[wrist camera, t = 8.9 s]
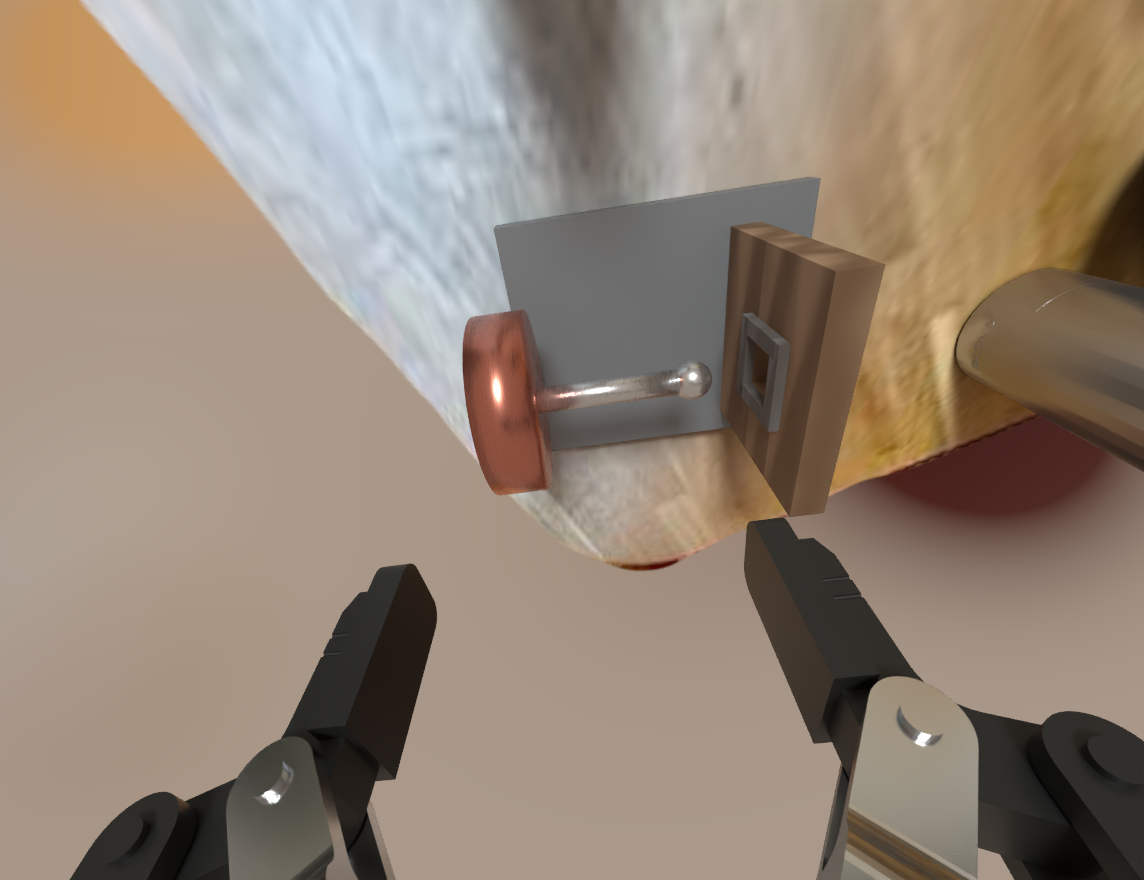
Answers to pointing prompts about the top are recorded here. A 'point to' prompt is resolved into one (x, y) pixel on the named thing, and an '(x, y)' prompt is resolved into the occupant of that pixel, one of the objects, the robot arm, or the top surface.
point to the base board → (638, 299)
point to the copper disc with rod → (539, 399)
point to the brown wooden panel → (793, 354)
